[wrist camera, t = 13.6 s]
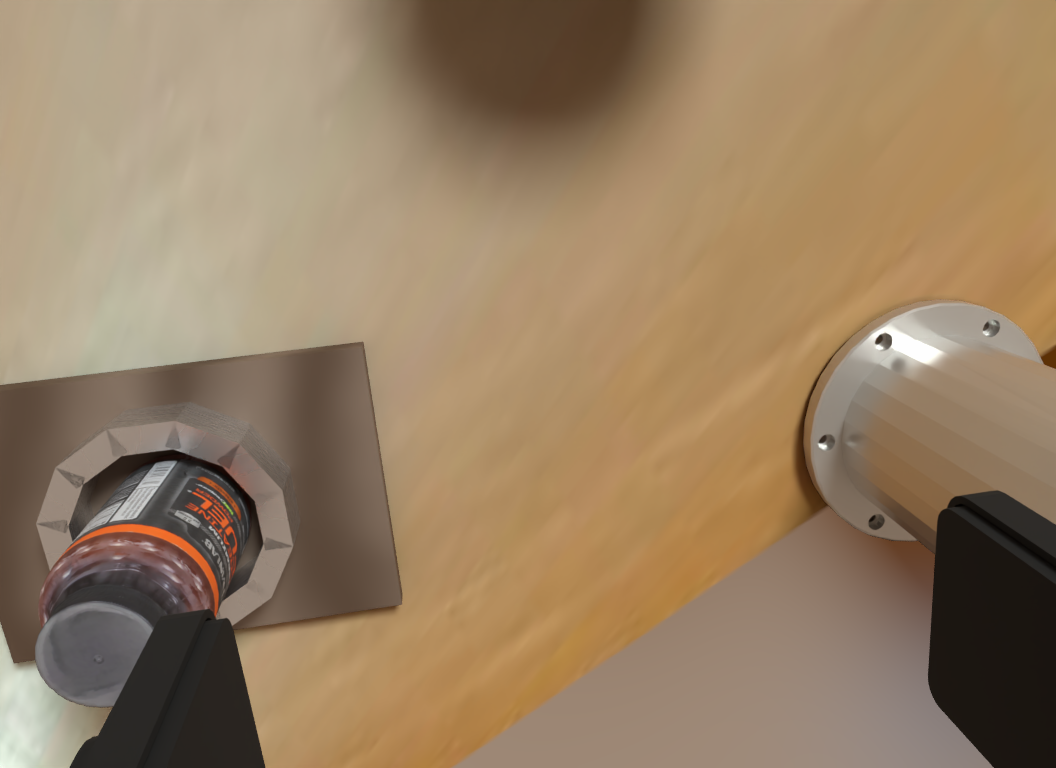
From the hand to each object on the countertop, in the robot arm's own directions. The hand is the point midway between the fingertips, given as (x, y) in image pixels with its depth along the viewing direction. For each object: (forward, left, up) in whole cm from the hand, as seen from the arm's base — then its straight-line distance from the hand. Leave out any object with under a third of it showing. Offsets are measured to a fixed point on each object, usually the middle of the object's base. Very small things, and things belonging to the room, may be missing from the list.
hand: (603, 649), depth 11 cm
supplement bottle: (+14, +9, -27) cm, 32 cm away
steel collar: (+14, +9, -28) cm, 33 cm away
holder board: (+14, +9, -28) cm, 33 cm away
